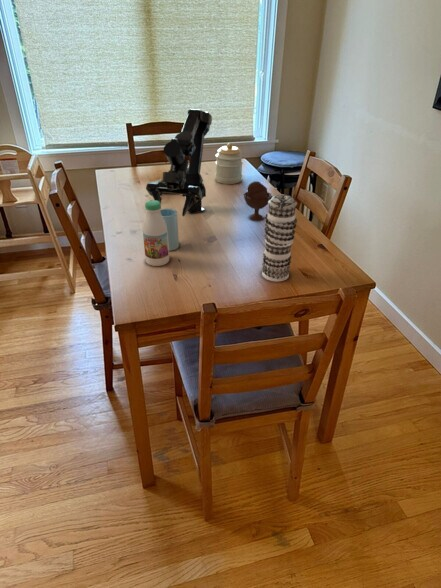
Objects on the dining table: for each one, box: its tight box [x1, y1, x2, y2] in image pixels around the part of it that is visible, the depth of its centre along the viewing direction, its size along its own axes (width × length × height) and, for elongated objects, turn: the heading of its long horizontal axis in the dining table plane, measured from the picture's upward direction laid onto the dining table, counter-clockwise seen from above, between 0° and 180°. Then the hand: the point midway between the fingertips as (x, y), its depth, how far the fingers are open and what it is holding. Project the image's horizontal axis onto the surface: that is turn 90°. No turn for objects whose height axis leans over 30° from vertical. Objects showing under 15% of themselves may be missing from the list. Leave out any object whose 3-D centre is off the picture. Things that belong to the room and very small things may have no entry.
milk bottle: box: [142, 199, 170, 267], centre depth 127 cm, size 8×8×20 cm
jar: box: [215, 142, 244, 185], centre depth 195 cm, size 13×13×18 cm
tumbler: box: [160, 208, 180, 252], centre depth 138 cm, size 7×7×12 cm
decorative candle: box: [261, 193, 298, 283], centre depth 120 cm, size 9×9×25 cm
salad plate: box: [152, 177, 172, 195], centre depth 190 cm, size 19×18×5 cm
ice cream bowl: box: [243, 180, 273, 222], centre depth 158 cm, size 11×11×15 cm
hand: (170, 214), depth 138 cm, fingers open, 9 cm apart
